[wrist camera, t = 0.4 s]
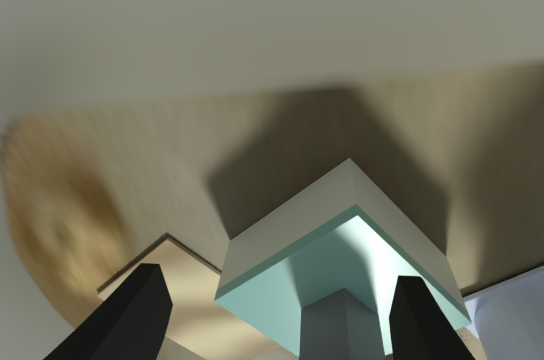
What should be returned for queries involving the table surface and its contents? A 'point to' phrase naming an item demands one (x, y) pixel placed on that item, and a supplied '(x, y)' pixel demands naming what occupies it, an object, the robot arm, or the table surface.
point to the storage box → (323, 207)
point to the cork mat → (199, 307)
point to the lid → (332, 291)
